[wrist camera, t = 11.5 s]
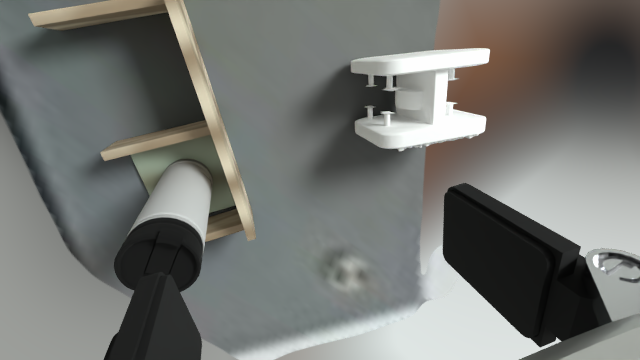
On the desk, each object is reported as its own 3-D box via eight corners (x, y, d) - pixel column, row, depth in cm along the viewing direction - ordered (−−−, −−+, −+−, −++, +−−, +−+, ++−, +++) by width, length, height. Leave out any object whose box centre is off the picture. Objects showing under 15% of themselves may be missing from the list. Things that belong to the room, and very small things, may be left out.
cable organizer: (440, 49, 45) (504, 45, 34) (436, 120, 49) (492, 136, 38) (344, 59, 41) (383, 59, 31) (349, 134, 46) (384, 156, 35)
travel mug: (220, 165, 42) (213, 245, 24) (204, 206, 43) (186, 311, 25) (172, 148, 39) (124, 223, 21) (156, 193, 41) (99, 298, 23)
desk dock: (56, 20, 32) (6, 9, 25) (182, -1, 34) (170, -18, 27) (162, 237, 43) (149, 272, 36) (251, 210, 46) (256, 238, 38)
